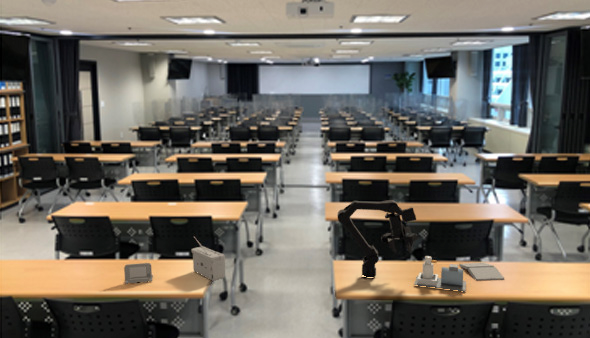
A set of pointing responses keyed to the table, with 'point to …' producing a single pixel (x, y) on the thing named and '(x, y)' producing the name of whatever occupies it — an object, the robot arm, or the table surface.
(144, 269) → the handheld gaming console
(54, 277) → the table surface
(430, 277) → the white rounded upright piece
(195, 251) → the stereo radio cassette player
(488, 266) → the gadget
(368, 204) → the robot arm
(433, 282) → the tray with square frame
